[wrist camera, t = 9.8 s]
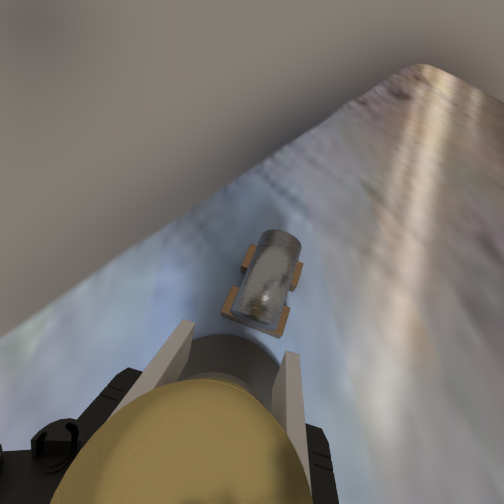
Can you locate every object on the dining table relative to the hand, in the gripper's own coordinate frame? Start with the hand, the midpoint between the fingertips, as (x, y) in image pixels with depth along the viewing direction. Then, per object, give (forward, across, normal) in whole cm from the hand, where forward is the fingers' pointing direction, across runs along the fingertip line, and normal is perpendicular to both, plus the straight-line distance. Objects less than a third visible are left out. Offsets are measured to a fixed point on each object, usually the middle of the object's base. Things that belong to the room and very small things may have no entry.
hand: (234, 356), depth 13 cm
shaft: (+9, +1, 0) cm, 9 cm away
